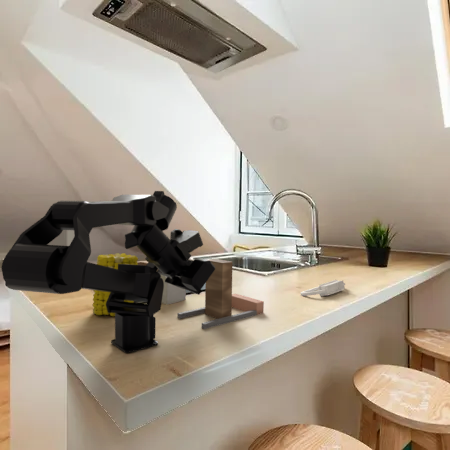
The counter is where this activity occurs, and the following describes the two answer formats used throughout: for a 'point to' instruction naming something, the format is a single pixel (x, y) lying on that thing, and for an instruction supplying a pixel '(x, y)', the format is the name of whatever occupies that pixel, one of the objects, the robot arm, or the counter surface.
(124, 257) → the food
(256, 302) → the twin grey rails
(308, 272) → the counter surface
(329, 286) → the oval loop handle
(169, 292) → the tea bag
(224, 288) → the brown wooden tall block
